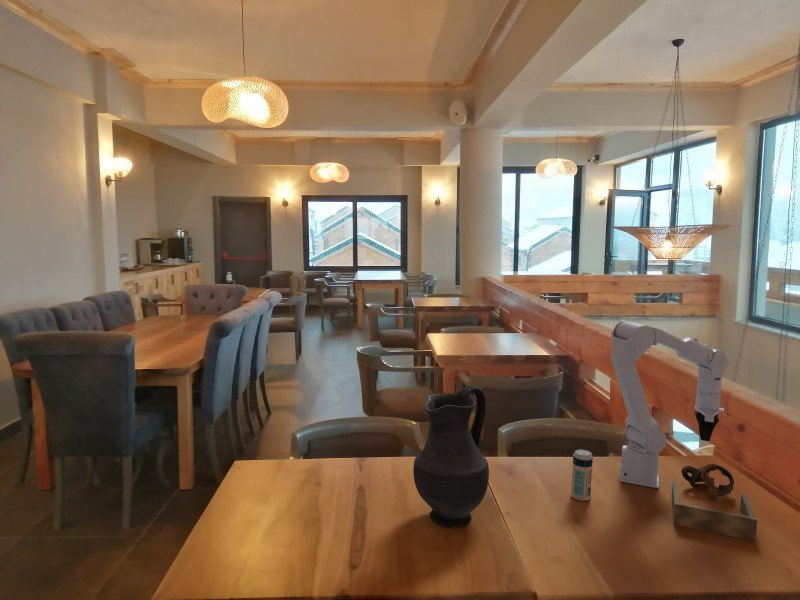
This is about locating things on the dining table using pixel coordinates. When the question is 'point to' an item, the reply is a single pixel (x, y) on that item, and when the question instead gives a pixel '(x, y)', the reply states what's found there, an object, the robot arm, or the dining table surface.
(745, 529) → the box
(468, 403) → the pitcher
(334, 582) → the dining table surface
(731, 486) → the brown hollow ring part
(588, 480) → the supplement bottle
